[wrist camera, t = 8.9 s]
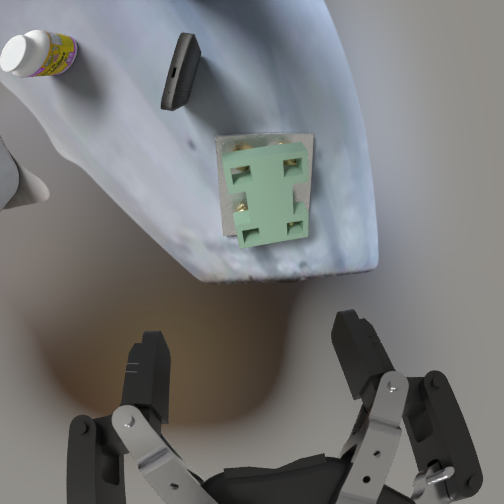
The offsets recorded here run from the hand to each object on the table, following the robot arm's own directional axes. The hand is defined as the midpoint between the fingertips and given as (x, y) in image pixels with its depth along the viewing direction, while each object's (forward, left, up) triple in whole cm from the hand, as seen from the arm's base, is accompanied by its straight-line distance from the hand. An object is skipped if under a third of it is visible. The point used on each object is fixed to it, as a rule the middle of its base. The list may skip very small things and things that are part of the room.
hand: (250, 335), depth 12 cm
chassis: (+5, +6, -32) cm, 33 cm away
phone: (-12, -4, -32) cm, 35 cm away
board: (+5, +6, -28) cm, 29 cm away
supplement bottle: (-21, -24, -32) cm, 45 cm away
